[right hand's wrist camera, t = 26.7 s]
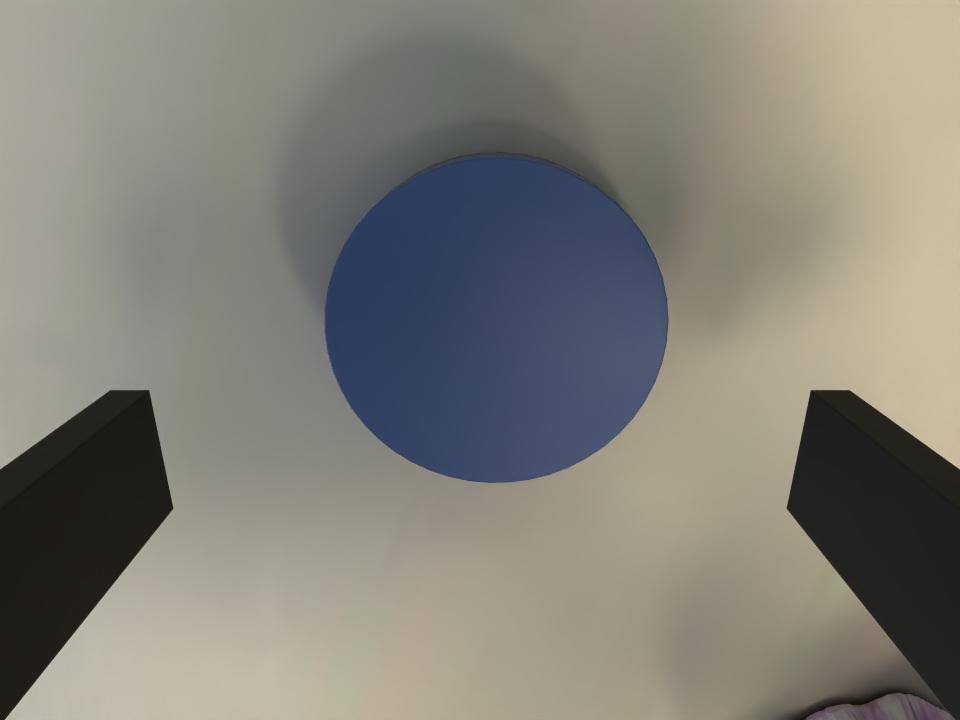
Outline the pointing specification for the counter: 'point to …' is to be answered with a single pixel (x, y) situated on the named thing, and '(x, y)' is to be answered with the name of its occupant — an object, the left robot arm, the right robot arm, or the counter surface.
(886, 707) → the figurine
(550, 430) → the lid
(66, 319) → the counter surface
